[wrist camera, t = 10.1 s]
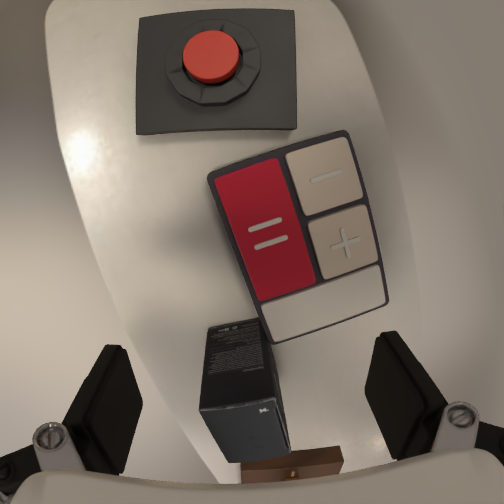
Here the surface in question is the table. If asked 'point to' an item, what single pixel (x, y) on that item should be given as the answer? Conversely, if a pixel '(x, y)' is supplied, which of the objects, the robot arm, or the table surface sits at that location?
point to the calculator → (303, 235)
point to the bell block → (224, 93)
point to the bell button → (211, 56)
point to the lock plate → (294, 466)
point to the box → (243, 394)
